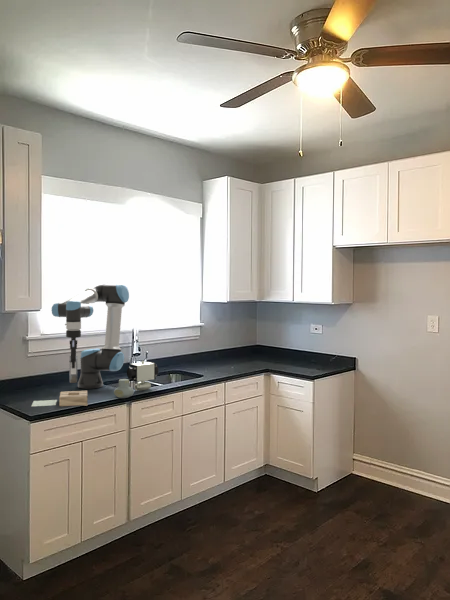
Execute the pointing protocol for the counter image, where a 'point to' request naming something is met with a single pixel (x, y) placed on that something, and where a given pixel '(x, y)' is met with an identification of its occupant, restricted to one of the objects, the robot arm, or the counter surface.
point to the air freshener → (123, 389)
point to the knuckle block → (73, 398)
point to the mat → (44, 403)
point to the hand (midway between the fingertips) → (73, 373)
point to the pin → (73, 376)
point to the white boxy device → (142, 374)
